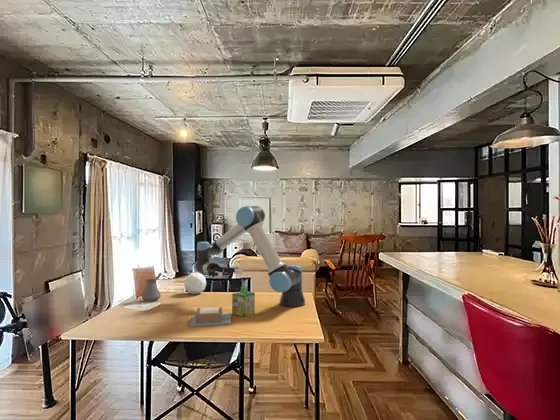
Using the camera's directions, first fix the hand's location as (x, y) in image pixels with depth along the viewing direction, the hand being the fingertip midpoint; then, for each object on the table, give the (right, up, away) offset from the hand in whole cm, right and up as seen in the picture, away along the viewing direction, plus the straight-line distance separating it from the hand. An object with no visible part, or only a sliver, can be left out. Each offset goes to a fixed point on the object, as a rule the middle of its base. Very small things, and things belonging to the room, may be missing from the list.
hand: (231, 273), depth 223 cm
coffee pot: (-54, -21, +32) cm, 66 cm away
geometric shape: (-30, -21, +45) cm, 58 cm away
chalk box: (+7, -21, -7) cm, 23 cm away
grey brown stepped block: (-8, -21, -19) cm, 30 cm away
